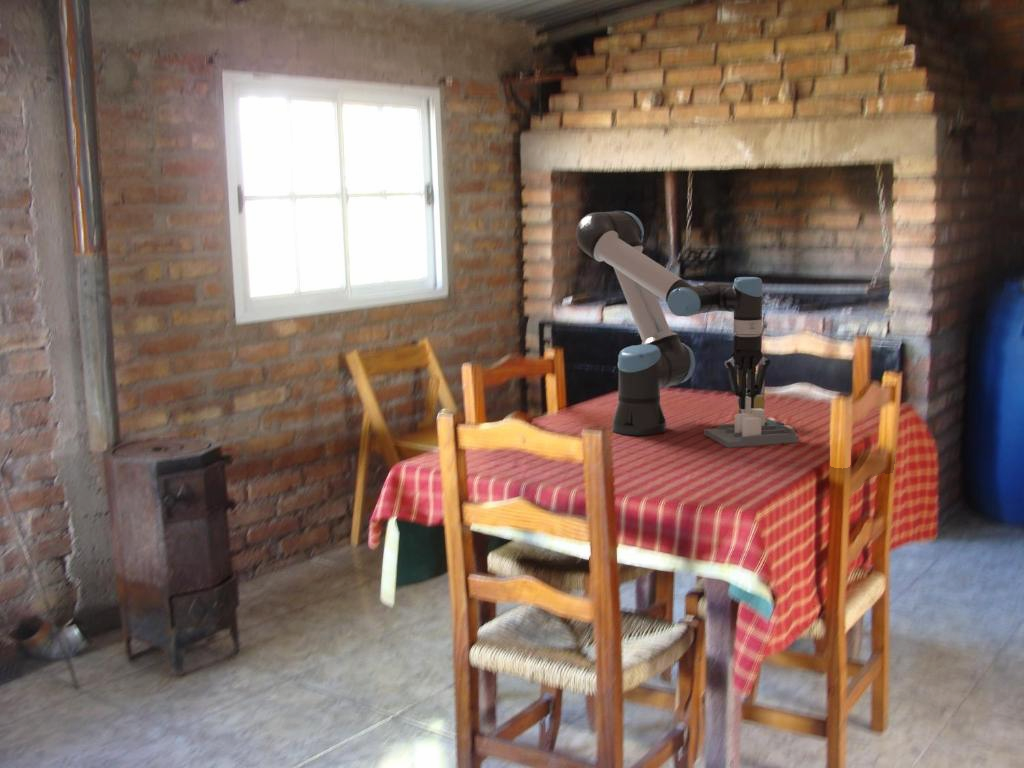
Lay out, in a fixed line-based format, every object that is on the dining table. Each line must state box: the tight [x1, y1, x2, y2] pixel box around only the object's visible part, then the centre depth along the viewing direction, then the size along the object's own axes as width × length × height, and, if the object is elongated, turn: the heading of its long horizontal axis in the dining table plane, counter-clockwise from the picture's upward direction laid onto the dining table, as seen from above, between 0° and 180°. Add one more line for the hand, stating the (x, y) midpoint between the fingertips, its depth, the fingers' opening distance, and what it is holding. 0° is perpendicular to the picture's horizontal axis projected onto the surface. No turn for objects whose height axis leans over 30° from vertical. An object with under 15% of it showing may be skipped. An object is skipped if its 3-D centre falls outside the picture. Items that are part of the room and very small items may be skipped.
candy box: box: [736, 368, 766, 414], centre depth 313 cm, size 9×4×15 cm, turn 17°
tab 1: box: [734, 413, 753, 432], centre depth 295 cm, size 4×3×5 cm
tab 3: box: [742, 417, 761, 436], centre depth 290 cm, size 4×3×5 cm
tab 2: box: [751, 408, 766, 426], centre depth 301 cm, size 4×3×5 cm
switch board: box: [704, 417, 800, 449], centre depth 295 cm, size 20×16×4 cm
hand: (746, 420), depth 300 cm, fingers closed
